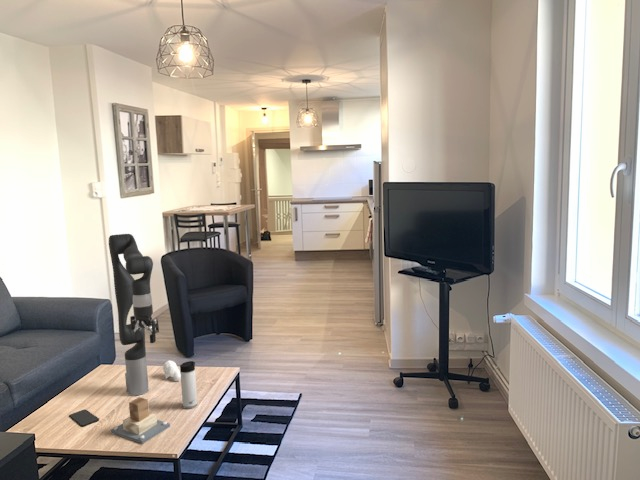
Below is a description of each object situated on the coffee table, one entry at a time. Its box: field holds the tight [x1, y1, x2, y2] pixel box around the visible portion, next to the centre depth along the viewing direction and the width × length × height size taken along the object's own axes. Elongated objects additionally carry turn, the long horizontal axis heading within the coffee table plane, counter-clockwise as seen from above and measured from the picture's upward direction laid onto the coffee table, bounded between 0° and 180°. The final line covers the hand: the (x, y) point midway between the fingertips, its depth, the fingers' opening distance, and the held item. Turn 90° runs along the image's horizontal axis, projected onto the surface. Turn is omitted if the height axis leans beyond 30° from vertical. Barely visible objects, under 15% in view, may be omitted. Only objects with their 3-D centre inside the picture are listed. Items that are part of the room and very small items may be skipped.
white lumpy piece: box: [162, 360, 181, 382], centre depth 240 cm, size 6×8×12 cm
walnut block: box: [128, 396, 150, 422], centre depth 191 cm, size 5×5×7 cm
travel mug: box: [179, 360, 198, 410], centre depth 210 cm, size 6×7×20 cm
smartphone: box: [68, 409, 100, 428], centre depth 203 cm, size 7×1×15 cm
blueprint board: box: [110, 419, 171, 445], centre depth 192 cm, size 18×14×2 cm
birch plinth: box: [122, 412, 158, 435], centre depth 192 cm, size 9×9×4 cm
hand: (145, 341), depth 202 cm, fingers open, 8 cm apart
